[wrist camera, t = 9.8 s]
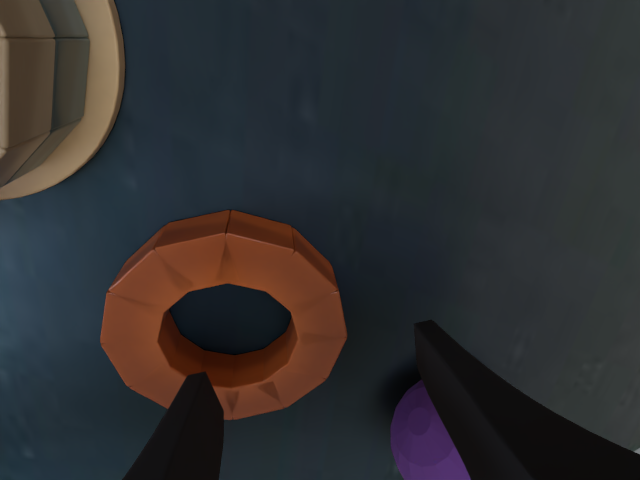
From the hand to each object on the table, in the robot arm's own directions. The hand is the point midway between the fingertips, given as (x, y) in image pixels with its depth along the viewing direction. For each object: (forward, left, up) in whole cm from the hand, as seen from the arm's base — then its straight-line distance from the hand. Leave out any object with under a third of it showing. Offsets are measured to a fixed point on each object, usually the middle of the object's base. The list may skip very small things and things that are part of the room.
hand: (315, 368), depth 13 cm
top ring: (-3, 0, -4) cm, 5 cm away
